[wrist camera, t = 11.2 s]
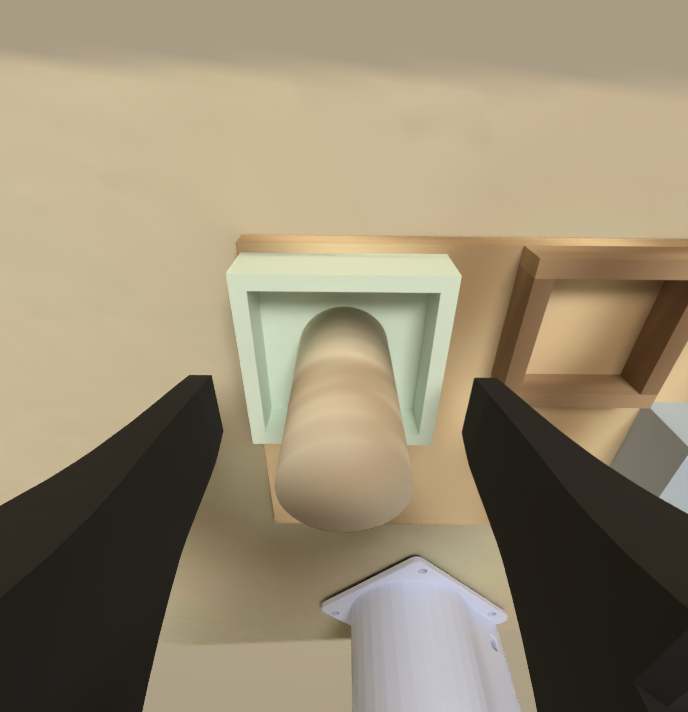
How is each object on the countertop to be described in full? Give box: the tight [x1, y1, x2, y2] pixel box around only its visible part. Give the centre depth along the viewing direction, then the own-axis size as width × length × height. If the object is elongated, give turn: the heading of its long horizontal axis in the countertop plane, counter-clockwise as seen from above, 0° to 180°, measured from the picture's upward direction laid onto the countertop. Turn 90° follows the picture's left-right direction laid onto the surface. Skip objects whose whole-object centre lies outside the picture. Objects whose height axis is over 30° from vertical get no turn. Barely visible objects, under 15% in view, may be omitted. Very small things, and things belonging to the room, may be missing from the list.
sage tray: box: [226, 252, 462, 445], centre depth 13 cm, size 6×6×2 cm
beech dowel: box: [274, 307, 414, 532], centre depth 11 cm, size 3×3×6 cm
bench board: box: [236, 235, 688, 525], centre depth 16 cm, size 25×14×2 cm, turn 89°
